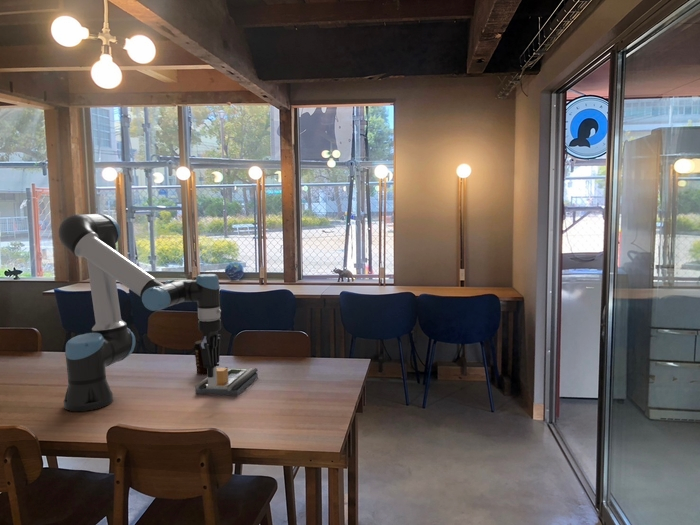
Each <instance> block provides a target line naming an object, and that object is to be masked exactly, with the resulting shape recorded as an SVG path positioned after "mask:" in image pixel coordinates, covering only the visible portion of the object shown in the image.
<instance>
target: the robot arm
mask: <svg viewBox="0 0 700 525" xmlns="http://www.w3.org/2000/svg"><path fill="white" fill-rule="evenodd" d="M121 235H122V234H121V227H120V225H119V222H118V221H116V219H115V218H113V217H112V216H110V215H108V214H106V213H105V214H104V213H91V214H90V213H87V214H86V213H85V214H73V215H70V216H67V217H66V218H64V219H63V220H62V221H61V223H60V225H59V226H58V238H59V241H60V242H61V244H62V246H63V247H64V248H66V249H67V250H68V251H69V252H70V253H71V254H73V255H75V256H76V257H78V258H85V259H86V264H87V273H88V279H89V285H90V292H91V293H90V294H91V299H92V305H93V313H94V315H93V316H94V321H95V324H94V325H93V326H92V328H91V332H86V333H84V334H78V335H76V336H73V337H71V338H70V339H68V341H67V342H66V344H65V352H64V353H65V354H64V355H65V360H66V362H65V363H66V372H67V389H66V392H65V396H64V399H63V408H65V409H67V410H70V411H69V412H71V411H84V412H88V411H87V410H91V411H94V410H93V409H95V410H98V409H97V408H99V409H101V408H100V407H102V408H104V407H103V406H105V407H107V406H109V405H111V404H112V403H113V402H114V395H113V392H112V390H111V387H110V385H109V382H108V380H107V373H106V370H107V369H106V368H107V367H110V366H112V365H114V364H116V363H117V362H122V361H123V360H125V359H126V358H128V357H129V356H130V355H131V354H132V353H133V352H134V350H135V347H136V336H135V334H134V333H133V331H131V329H130V328H128V326H127V325H128V324H127V322H126V321H124V320H123V319H122V316H121V307H120V301H119V294H118V286H117V282H118V283H120V284H122V285H123V286H124V287H126V288H127V289H129V290H130V291H131V292H133V293H134V294H136V295H137V296H139V297H140V298H141V302H142V304H143V306H144V307H145V308H146V309H147V310H149V311H153V312H155V311H160V310H165V309H167V308H168V307H169V308H170V307H171V306H175V305H178V304H181V303H189V302H190V303H192V302H193V303H196V304H197V318H198V319H199V320H198V321H197V323H198V325H197V326H198V331H199V332H200V333H202V339H201V340H203V342H202V343H199V347H200V349H201V354H202V360H203V366H204V368H207V373H208V375H207V377H208V386H216V385H217V370H216V368H217V367H220V363H219V362H220V356H221V355H220V354H221V352H220V351H221V340H222V335H221V334H219V332H218V331H220V330H221V329H222V320H221V313H222V309H221V301H220V299H221V298H220V287H221V286H220V280H219V276H218V275H217V274H215V273H201V274H198V275H196V277H195V279H192V280H191V279H168V280H166V281H165V283H163V282H161V281H159V279H157V278H155V277H154V276H153V275H151V274H149V273H148V272H147V271H146V270H144V269H143V268H141V267H140V266H138V264H135V263H134V262H132V261H131V260H129V259H128V258H126V256H124V255H122V254H121V253H120V252H118V251H117V245H116V244H117V243H118V242H119V239H121V238H120V237H121ZM111 402H112V403H111ZM108 404H109V405H108ZM106 405H107V406H106ZM65 409H64V410H65ZM67 410H66V411H67Z"/></svg>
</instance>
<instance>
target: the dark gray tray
mask: <svg viewBox="0 0 700 525" xmlns="http://www.w3.org/2000/svg"><path fill="white" fill-rule="evenodd" d="M220 368H228V369H229V367H227V366H225V367H224V366H221V367H220ZM255 373H258V368H256V367H254V368H253V367H251V368H249V369H247V372H245V373H244V374H243V375H242V376H241V377H239V378H238V379H237V380H236V381H235V382H233V383H232V384H231V385H230V386H229V387H227V390H228V391H230V390H231V389H232V391H235V390H236V389H237V388H239V387H240V386H241V385H242V384H243V383H244V382H245V381H247V380H248V379H249V378H250V377H251V376H252V375H253V374H255ZM207 384H208V376H206V378H204V379H203V380H202V381H200V382H199V383H197V384H195V386H194V389H198V388H200V389H203V388H205V387H206V385H207Z"/></svg>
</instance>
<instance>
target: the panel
mask: <svg viewBox="0 0 700 525" xmlns="http://www.w3.org/2000/svg"><path fill="white" fill-rule="evenodd" d="M247 371H248V369H245V368H241V369H240V368H228V382H227V383H226V384H225V385H216V386H208V384H207V385H206V387H205V388H203V389H200V388H198V389H195V388H194V389H195V394H198V395H216V396H218V395H219V396H232V397H233V396H236V397H238V396H240V394H242V393H243V391H245V390H246V389H247V388H248V387H249V386H250V385H251V384H252V383H254V382H255V381H256V380H257V379H258V372H256V373H255V374H253V375H252V376H251V377H250V378H249V379H248V380H247V381H245V382H244V383H243V384H242V385H241V386H240V387H239V388H237V389H236V390H235V391H232V389H231V390H230V391H228V390H227V387H229V386H230V385H231V384H232V383H233V382H235V381H236V380H237V379H238V378H239V377H241V376H242V375H243V374H244V373H245V372H247Z"/></svg>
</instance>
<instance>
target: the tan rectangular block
mask: <svg viewBox="0 0 700 525" xmlns="http://www.w3.org/2000/svg"><path fill="white" fill-rule="evenodd" d="M228 369H229V367H228V368H225V367H224V368H221V367H216V370H217V385H225V384H226V383H227V382H228Z"/></svg>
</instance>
